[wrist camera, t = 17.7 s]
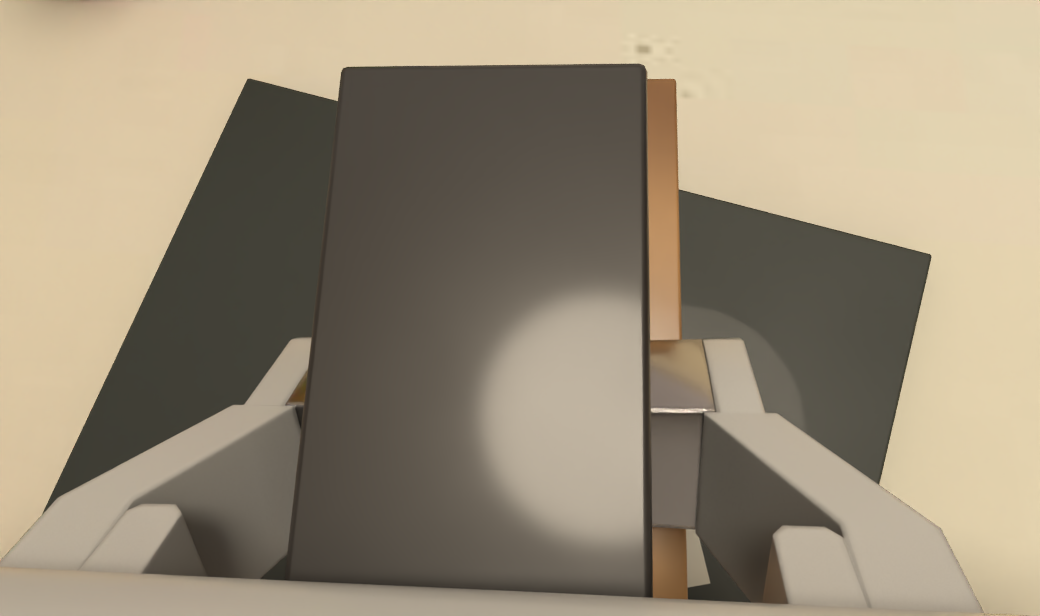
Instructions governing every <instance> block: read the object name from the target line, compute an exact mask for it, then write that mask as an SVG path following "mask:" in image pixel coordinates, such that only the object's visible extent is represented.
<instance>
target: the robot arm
mask: <svg viewBox="0 0 1040 616" xmlns="http://www.w3.org/2000/svg"><path fill="white" fill-rule="evenodd" d="M310 346H311V337H298V338H295V339H291V340H290V342H289V343H288V344H287V346H286V347H285V348H284V350H283V351H282V353H281V354H280V355H279V357H278V358H277V360H276V361H275V362H274V364H273V365H272V367H271V368H270V369H269V371H268V372H267V374H266V375H265V376H264V378H263V379H262V380H261V382H260V383H259V385H258V386H257V387H256V389H255V390H254V392H253V393H252V394H251V396H250V397H249V399H248V400H247V401H246V403H245V404H244V405H232V406H230V407H228V408H226V409H224V410H222V411H221V412H219V413H217V414H215V415H213V416H211V417H209V418H207V419H205V420H204V421H202V422H200V423H198V424H196V425H194V426H192V427H190V428H188V429H187V430H185V431H183V432H181V433H179V434H177V435H175V436H173V437H171V438H170V439H168V440H166V441H164V442H162V443H160V444H158V445H156V446H154V447H153V448H151V449H149V450H147V451H145V452H143V453H141V454H139V455H137V456H136V457H134V458H132V459H130V460H128V461H126V462H124V463H122V464H120V465H118V466H117V467H115V468H113V469H111V470H109V471H107V472H105V473H103V474H101V475H100V476H98V477H96V478H94V479H92V480H90V481H88V482H86V483H84V484H83V485H81V486H79V487H77V488H75V489H73V490H71V491H69V492H67V493H66V494H64V495H62V496H60V497H58V498H57V499H56V500H55V501H54V502H53V504H52V505H51V506H50V507H49V508H48V509H47V510H46V511H45V512H44V513H43V515H42V516H41V517H40V518H39V519H38V520H37V521H36V522H35V523H34V524H33V525H32V527H31V528H30V529H29V530H28V531H27V532H26V533H25V534H24V535H23V536H22V538H21V539H20V540H19V541H18V542H17V543H16V544H15V545H14V546H13V547H12V549H11V550H10V551H9V552H8V553H7V554H6V555H5V556H4V557H3V558H2V560H1V561H0V616H1027V615H1006V614H985V613H984V612H983V610H982V608H981V606H980V604H979V602H978V600H977V598H976V596H975V594H974V592H973V590H972V588H971V586H970V584H969V582H968V580H967V578H966V576H965V575H964V573H963V571H962V569H961V567H960V565H959V563H958V561H957V559H956V557H955V555H954V553H953V551H952V549H951V547H950V545H949V543H948V541H947V539H946V537H945V536H944V534H943V532H942V530H941V528H939V527H938V526H937V525H935V524H934V523H932V522H931V521H930V520H928V519H927V518H925V517H924V516H922V515H921V514H920V513H918V512H917V511H915V510H914V509H912V508H911V507H910V506H908V505H907V504H905V503H904V502H902V501H901V500H900V499H898V498H897V497H895V496H894V495H893V494H891V493H890V492H888V491H887V490H885V489H884V488H883V487H881V486H880V485H878V484H877V483H875V482H874V481H873V480H871V479H870V478H868V477H867V476H866V475H864V474H863V473H861V472H860V471H858V470H857V469H856V468H854V467H853V466H851V465H850V464H848V463H847V462H846V461H844V460H843V459H841V458H840V457H838V456H837V455H836V454H834V453H833V452H831V451H830V450H829V449H827V448H826V447H824V446H823V445H821V444H820V443H819V442H817V441H816V440H814V439H813V438H811V437H810V436H809V435H807V434H806V433H804V432H803V431H802V430H800V429H799V428H797V427H796V426H794V425H793V424H792V423H790V422H789V421H787V420H786V419H784V418H783V417H782V416H780V415H779V414H777V413H765V410H764V407H763V404H762V400H761V397H760V394H759V390H758V387H757V384H756V380H755V377H754V374H753V370H752V367H751V364H750V360H749V357H748V354H747V350H746V347H745V344H744V341H743V340H742V339H740V338H717V339H685V340H650V373H651V464H652V527H659V528H675V529H691V530H695V533H696V535H697V536H698V537H699V538H700V540H701V541H702V542H703V543H704V545H705V546H706V547H707V548H708V549H709V551H710V552H711V553H712V554H713V556H714V557H715V558H716V559H717V561H718V562H719V563H720V564H721V566H722V567H723V568H724V569H725V571H726V572H727V573H728V574H729V576H730V577H731V578H732V579H733V581H734V582H735V583H736V584H737V586H738V587H739V588H740V589H741V590H742V592H743V593H744V594H745V595H746V597H747V598H748V599H749V600H750V602H751V603H750V602H729V601H709V600H688V599H668V598H647V597H626V596H606V595H585V594H565V593H544V592H523V591H501V590H480V589H458V588H436V587H415V586H393V585H371V584H349V583H328V582H307V581H286V580H265V579H260V578H262V577H263V576H264V575H265V574H266V573H267V572H268V571H269V570H270V569H272V568H273V567H274V566H275V565H276V564H277V563H278V562H279V561H280V560H282V559H283V558H284V557H285V556H286V555H287V551H288V542H289V534H290V525H291V516H292V507H293V498H294V489H295V480H296V471H297V462H298V453H299V444H300V435H301V427H302V418H303V409H304V400H305V391H306V382H307V373H308V364H309V355H310Z"/></svg>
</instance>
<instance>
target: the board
mask: <svg viewBox="0 0 1040 616" xmlns="http://www.w3.org/2000/svg"><path fill="white" fill-rule="evenodd" d="M337 105H338V101H334V100H330V99H327V98H323V97H319V96H315V95H311V94H307V93H303V92H299V91H296V90H292V89H288V88H284V87H280V86H276V85H272V84H269V83H265V82H261V81H257V80H253V79H247V81H246V83H245V85H244V88H243V90H242V92H241V94H240V96H239V98H238V100H237V102H236V105H235V107H234V109H233V111H232V113H231V115H230V117H229V119H228V121H227V124H226V126H225V128H224V130H223V132H222V134H221V136H220V138H219V141H218V143H217V145H216V147H215V149H214V151H213V153H212V155H211V158H210V160H209V162H208V164H207V166H206V168H205V170H204V172H203V175H202V177H201V179H200V181H199V183H198V185H197V187H196V189H195V191H194V194H193V196H192V198H191V200H190V202H189V204H188V206H187V208H186V211H185V213H184V215H183V217H182V219H181V221H180V223H179V225H178V228H177V230H176V232H175V234H174V236H173V238H172V240H171V242H170V244H169V247H168V249H167V251H166V253H165V255H164V257H163V259H162V261H161V264H160V266H159V268H158V270H157V272H156V274H155V276H154V278H153V281H152V283H151V285H150V287H149V289H148V291H147V293H146V295H145V298H144V300H143V302H142V304H141V306H140V308H139V310H138V312H137V314H136V317H135V319H134V321H133V323H132V325H131V327H130V329H129V331H128V334H127V336H126V338H125V340H124V342H123V344H122V346H121V348H120V351H119V353H118V355H117V357H116V359H115V361H114V363H113V365H112V368H111V370H110V372H109V374H108V376H107V378H106V380H105V382H104V384H103V387H102V389H101V391H100V393H99V395H98V397H97V399H96V401H95V404H94V406H93V408H92V410H91V412H90V414H89V416H88V418H87V421H86V423H85V425H84V427H83V429H82V431H81V433H80V435H79V437H78V440H77V442H76V444H75V446H74V448H73V450H72V452H71V454H70V457H69V459H68V461H67V463H66V465H65V467H64V469H63V471H62V474H61V476H60V478H59V480H58V482H57V484H56V486H55V488H54V491H53V493H52V495H51V497H50V499H49V501H48V503H47V505H46V507H45V510H44V512H45V511H46V510H47V509H48V508H49V507H50V506H51V505H52V504H53V502H54V501H55V500H56V499H57V498H58V497H60V496H62V495H64V494H66V493H67V492H69V491H71V490H73V489H75V488H77V487H79V486H81V485H83V484H84V483H86V482H88V481H90V480H92V479H94V478H96V477H98V476H100V475H101V474H103V473H105V472H107V471H109V470H111V469H113V468H115V467H117V466H118V465H120V464H122V463H124V462H126V461H128V460H130V459H132V458H134V457H136V456H137V455H139V454H141V453H143V452H145V451H147V450H149V449H151V448H153V447H154V446H156V445H158V444H160V443H162V442H164V441H166V440H168V439H170V438H171V437H173V436H175V435H177V434H179V433H181V432H183V431H185V430H187V429H188V428H190V427H192V426H194V425H196V424H198V423H200V422H202V421H204V420H205V419H207V418H209V417H211V416H213V415H215V414H217V413H219V412H221V411H222V410H224V409H226V408H228V407H230V406H232V405H244V404H245V403H246V401H247V400H248V399H249V397H250V396H251V394H252V393H253V392H254V390H255V389H256V387H257V386H258V385H259V383H260V382H261V380H262V379H263V378H264V376H265V375H266V374H267V372H268V371H269V369H270V368H271V367H272V365H273V364H274V362H275V361H276V360H277V358H278V357H279V355H280V354H281V353H282V351H283V350H284V348H285V347H286V346H287V344H288V343H289V342H290V340H291V339H295V338H298V337H312V328H313V320H314V311H315V302H316V293H317V284H318V275H319V266H320V257H321V248H322V239H323V230H324V221H325V213H326V204H327V195H328V186H329V177H330V168H331V159H332V150H333V141H334V132H335V123H336V114H337ZM679 233H680V277H681V322H682V340H685V339H717V338H740V339H742V340H743V341H744V344H745V347H746V350H747V354H748V357H749V360H750V364H751V367H752V370H753V374H754V377H755V380H756V384H757V387H758V390H759V394H760V397H761V400H762V404H763V407H764V410H765V413H777V414H779V415H780V416H782V417H783V418H784V419H786V420H787V421H789V422H790V423H792V424H793V425H794V426H796V427H797V428H799V429H800V430H802V431H803V432H804V433H806V434H807V435H809V436H810V437H811V438H813V439H814V440H816V441H817V442H819V443H820V444H821V445H823V446H824V447H826V448H827V449H829V450H830V451H831V452H833V453H834V454H836V455H837V456H838V457H840V458H841V459H843V460H844V461H846V462H847V463H848V464H850V465H851V466H853V467H854V468H856V469H857V470H858V471H860V472H861V473H863V474H864V475H866V476H867V477H868V478H870V479H871V480H873V481H874V482H875V483H877V484H878V485H879V483H880V479H881V474H882V470H883V466H884V461H885V457H886V453H887V448H888V444H889V439H890V435H891V431H892V426H893V422H894V418H895V413H896V409H897V405H898V400H899V396H900V392H901V387H902V383H903V379H904V374H905V370H906V366H907V361H908V357H909V353H910V348H911V344H912V340H913V335H914V331H915V326H916V322H917V318H918V313H919V309H920V305H921V300H922V296H923V292H924V287H925V283H926V279H927V274H928V270H929V266H930V261H931V255H930V254H926V253H923V252H919V251H915V250H911V249H907V248H903V247H899V246H896V245H892V244H888V243H884V242H880V241H876V240H872V239H868V238H865V237H861V236H857V235H853V234H849V233H845V232H841V231H837V230H834V229H830V228H826V227H822V226H818V225H814V224H810V223H806V222H803V221H799V220H795V219H791V218H787V217H783V216H779V215H776V214H772V213H768V212H764V211H760V210H756V209H752V208H748V207H745V206H741V205H737V204H733V203H729V202H725V201H721V200H717V199H714V198H710V197H706V196H702V195H698V194H694V193H690V192H687V191H683V190H679ZM44 512H43V513H44ZM42 515H43V514H42ZM686 544H687V588H688V600H709V601H729V602H750V600H749V599H748V598H747V597H746V595H745V594H744V593H743V592H742V590H741V589H740V588H739V587H738V586H737V584H736V583H735V582H734V581H733V579H732V578H731V577H730V576H729V574H728V573H727V572H726V571H725V569H724V568H723V567H722V566H721V564H720V563H719V562H718V561H717V559H716V558H715V557H714V556H713V554H712V553H711V552H710V551H709V549H708V548H707V547H706V546H705V545H704V543H703V542H702V541H701V540H700V538H699V537H698V536H697V535H696V533H695V530H691V529H686ZM286 560H287V555H286V556H285V557H284V558H283V559H282V560H280V561H279V562H278V563H277V564H276V565H275V566H274V567H273V568H272V569H270V570H269V571H268V572H267V573H266V574H265V575H264V576H263V577H262V578H260V579H265V580H284V578H285V569H286ZM750 603H751V602H750Z"/></svg>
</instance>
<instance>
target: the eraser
mask: <svg viewBox="0 0 1040 616" xmlns="http://www.w3.org/2000/svg"><path fill="white" fill-rule="evenodd" d="M650 340H682V322H681V277H680V233H679V188H678V144H677V100H676V81H675V79H647V71H646V69H645V66H644V65H641V64H573V65H480V66H388V67H346V68H343V70H342V72H341V79H340V88H339V97H338V105H337V114H336V123H335V132H334V141H333V150H332V159H331V168H330V177H329V186H328V195H327V204H326V213H325V221H324V230H323V239H322V248H321V257H320V266H319V275H318V284H317V293H316V302H315V311H314V320H313V328H312V337H311V346H310V355H309V364H308V373H307V382H306V391H305V400H304V409H303V418H302V427H301V435H300V444H299V453H298V462H297V471H296V480H295V489H294V498H293V507H292V516H291V525H290V534H289V542H288V551H287V560H286V569H285V578H284V580H286V581H307V582H328V583H349V584H371V585H393V586H415V587H436V588H458V589H480V590H501V591H523V592H544V593H565V594H585V595H606V596H626V597H647V598H668V599H688V588H687V544H686V529H675V528H659V527H652V464H651V373H650Z"/></svg>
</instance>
